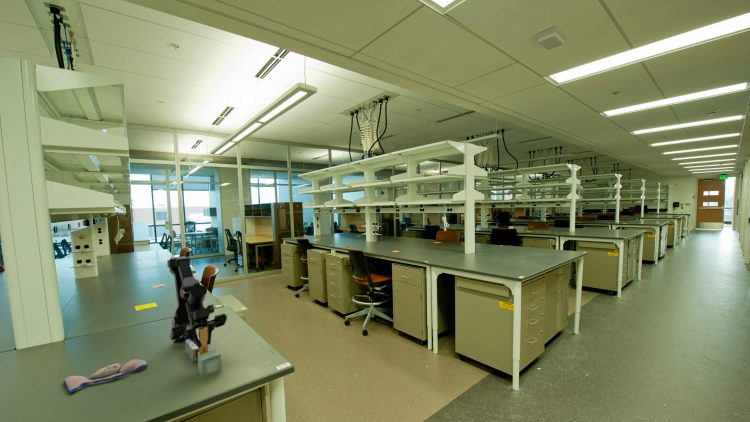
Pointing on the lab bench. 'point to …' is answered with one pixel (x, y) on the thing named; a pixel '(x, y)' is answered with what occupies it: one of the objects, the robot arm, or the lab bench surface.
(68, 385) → the anatomical model
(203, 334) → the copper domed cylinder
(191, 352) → the aluminium sleeve
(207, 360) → the green socket
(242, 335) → the lab bench surface
